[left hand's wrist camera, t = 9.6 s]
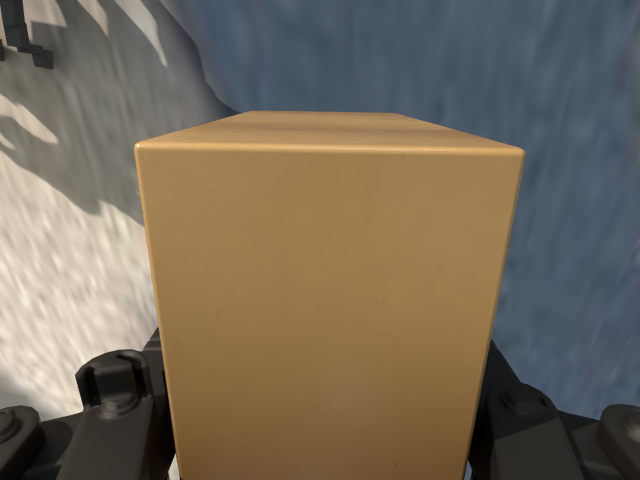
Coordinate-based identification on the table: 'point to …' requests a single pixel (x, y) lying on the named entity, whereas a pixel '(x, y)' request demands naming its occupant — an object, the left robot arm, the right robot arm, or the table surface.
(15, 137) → the table surface
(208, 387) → the bar
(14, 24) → the toy
